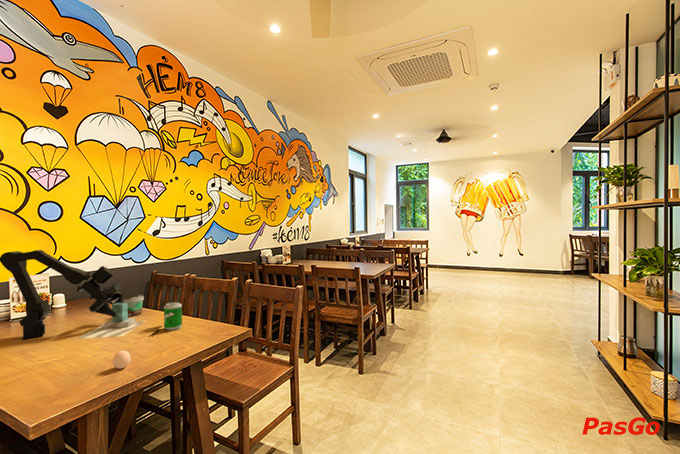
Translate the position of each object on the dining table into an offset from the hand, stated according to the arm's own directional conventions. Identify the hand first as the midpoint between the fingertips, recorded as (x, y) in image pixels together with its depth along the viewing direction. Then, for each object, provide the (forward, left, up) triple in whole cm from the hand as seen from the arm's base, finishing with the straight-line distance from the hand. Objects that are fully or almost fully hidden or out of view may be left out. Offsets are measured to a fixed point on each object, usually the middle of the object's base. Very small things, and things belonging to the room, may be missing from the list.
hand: (121, 313), depth 148 cm
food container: (+9, +24, -8) cm, 26 cm away
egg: (-4, -50, -8) cm, 51 cm away
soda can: (+19, -16, -8) cm, 26 cm away
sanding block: (0, 0, -6) cm, 6 cm away
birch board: (-3, -4, -7) cm, 9 cm away
